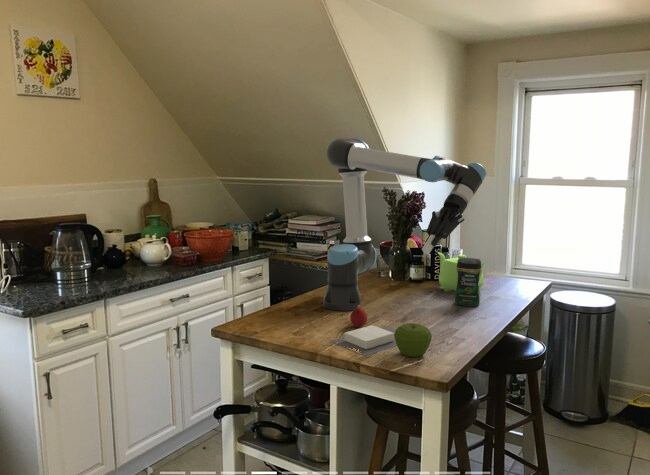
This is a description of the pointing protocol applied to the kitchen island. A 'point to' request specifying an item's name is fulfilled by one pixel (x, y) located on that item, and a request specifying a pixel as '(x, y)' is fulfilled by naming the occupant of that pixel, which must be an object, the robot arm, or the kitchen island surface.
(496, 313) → the kitchen island surface
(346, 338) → the tile
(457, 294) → the coffee jar
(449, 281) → the teapot
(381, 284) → the kitchen island surface
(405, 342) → the apple
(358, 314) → the red pomegranate
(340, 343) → the mat
